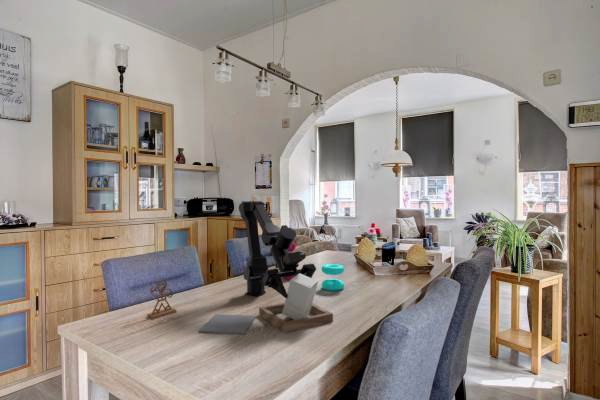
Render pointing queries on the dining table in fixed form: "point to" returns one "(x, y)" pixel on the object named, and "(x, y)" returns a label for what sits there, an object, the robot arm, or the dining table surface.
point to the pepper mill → (290, 252)
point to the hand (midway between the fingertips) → (299, 295)
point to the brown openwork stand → (166, 310)
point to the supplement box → (300, 297)
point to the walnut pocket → (319, 318)
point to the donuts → (332, 283)
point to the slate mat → (228, 324)
